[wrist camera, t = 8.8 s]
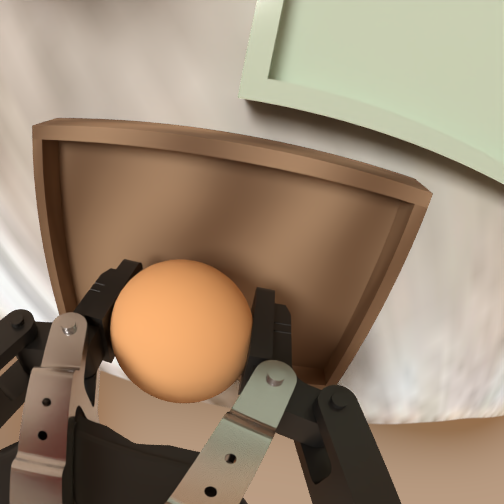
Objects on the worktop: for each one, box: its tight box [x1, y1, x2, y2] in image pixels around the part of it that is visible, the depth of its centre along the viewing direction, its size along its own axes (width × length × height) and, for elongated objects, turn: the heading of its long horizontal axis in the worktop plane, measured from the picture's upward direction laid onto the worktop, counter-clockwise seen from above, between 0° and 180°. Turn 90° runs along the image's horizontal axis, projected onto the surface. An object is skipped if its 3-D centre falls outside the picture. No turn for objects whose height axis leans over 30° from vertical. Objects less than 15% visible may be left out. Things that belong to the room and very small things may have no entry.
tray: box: [32, 118, 433, 390], centre depth 13 cm, size 16×12×2 cm
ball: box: [110, 259, 253, 403], centre depth 10 cm, size 5×5×5 cm
